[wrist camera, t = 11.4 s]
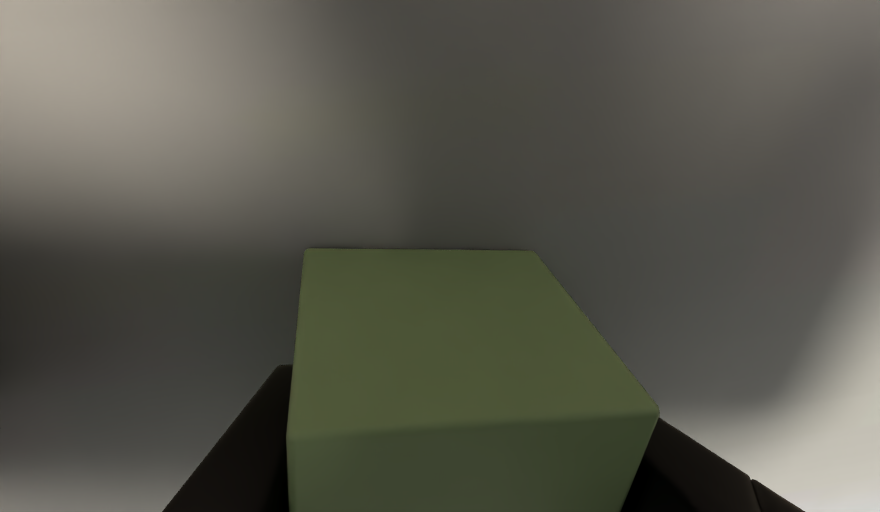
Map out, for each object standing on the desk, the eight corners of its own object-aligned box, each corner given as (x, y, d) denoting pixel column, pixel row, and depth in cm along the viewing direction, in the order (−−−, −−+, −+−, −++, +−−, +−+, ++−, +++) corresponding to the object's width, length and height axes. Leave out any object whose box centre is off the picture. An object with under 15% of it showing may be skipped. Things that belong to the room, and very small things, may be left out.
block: (534, 248, 9) (666, 410, 5) (499, 415, 11) (580, 617, 7) (303, 246, 8) (285, 436, 5) (306, 428, 10) (294, 665, 6)
